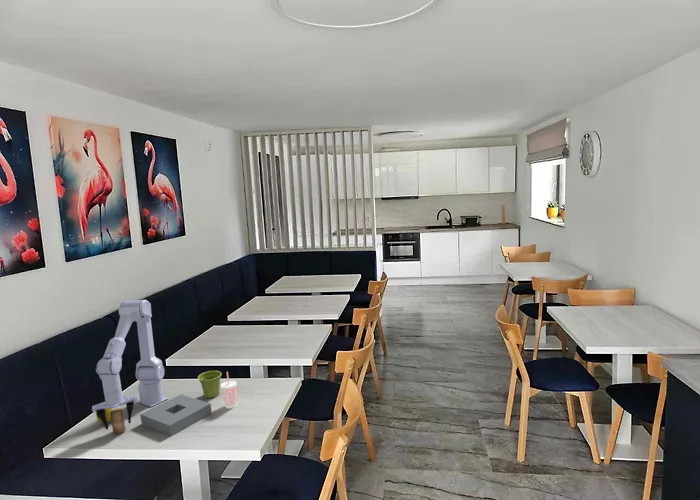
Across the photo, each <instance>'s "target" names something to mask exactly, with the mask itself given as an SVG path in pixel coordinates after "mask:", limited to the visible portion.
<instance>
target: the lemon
mask: <svg viewBox="0 0 700 500" xmlns="http://www.w3.org/2000/svg"><path fill="white" fill-rule="evenodd" d="M112 410H113V408H109V409H105V413H106V419H107V423H108V422H109V421H110V420H111V415H110V412H111V411H112ZM95 416H96V419H97V421H98V422H99V423H102V424H103V422H102V421H101V419H100V418H99V417H98V416H97V411H96V412H95Z"/></svg>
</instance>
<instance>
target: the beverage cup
mask: <svg viewBox="0 0 700 500" xmlns="http://www.w3.org/2000/svg"><path fill="white" fill-rule="evenodd" d="M226 378H227V381H224V382H222V383H220V389H221V391H222V396H223V402H224V407H225V408H226V409H234V408H236V407H237V406H238V394H237V393H238V392H237V391H238V390H237V385H238V383H237V381H235V380H230V377H229V372H228V371H226Z"/></svg>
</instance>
